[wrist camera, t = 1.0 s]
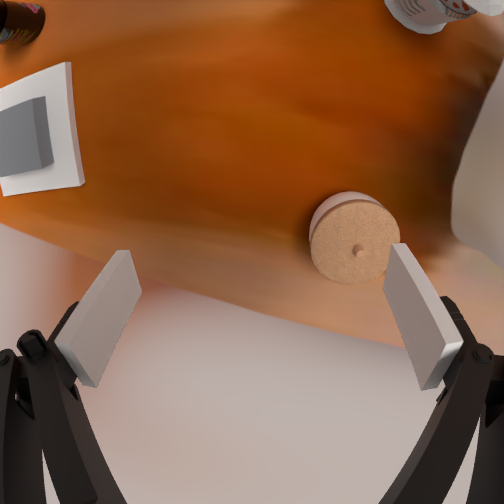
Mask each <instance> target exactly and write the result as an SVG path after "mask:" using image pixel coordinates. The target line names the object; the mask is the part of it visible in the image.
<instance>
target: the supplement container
mask: <svg viewBox="0 0 504 504" xmlns="http://www.w3.org/2000/svg"><path fill="white" fill-rule="evenodd" d="M43 23H44V11H43V8H42V7H41V6H40V5H37V4H31V3H24V2H16V1H7V0H0V45H14V44H26V43H28V42H30V41H32V40H33V39H34V38H35V37H36V36H37V35H38V33H39V32H40V30H41V28H42V26H43Z"/></svg>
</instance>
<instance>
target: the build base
mask: <svg viewBox="0 0 504 504" xmlns="http://www.w3.org/2000/svg"><path fill="white" fill-rule="evenodd" d="M84 183H85V178H84V172H83V167H82V161H81V155H80V148H79V142H78V135H77V127H76V119H75V109H74V99H73V87H72V71H71V62H63V63H60V64H57V65H55V66H52V67H49V68H47V69H44V70H42V71H39V72H37V73H34V74H32V75H29V76H27V77H25V78H22V79H20V80H18V81H16V82H14V83H11V84H9V85H7V86H5V87H3V88H1V89H0V184H1V188H2V192H3V196H9V195H15V194H22V193H29V192H36V191H43V190H50V189H58V188H66V187H75V186H81V185H82V184H84Z"/></svg>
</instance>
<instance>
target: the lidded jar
mask: <svg viewBox="0 0 504 504" xmlns="http://www.w3.org/2000/svg"><path fill="white" fill-rule="evenodd" d="M309 240H310V252H311V257H312V260H313V263H314V265H315V267H316V268H317V270H318V271H319V272H320V273H321V274H322V275H323V276H324V277H326V278H327V279H329V280H331V281H333V282H336V283H340V284H347V285H355V284H361V283H364V282H368V281H370V280H372V279H374V278H376V277H377V276H379V275H380V274H382V273H383V272H384V271H385V270H386V269H387V266H388V261H389V255H390V250H391V245H392V244H400V232H399V228H398V225H397V222H396V221H395V219H394V217H393V216H392V215H391V214H390V212H389V211H388V210H387V209H385V208H384V207H383V206H382V205H381V204H380V203H379V202H378V201H376V200H375V199H374V198H372V197H370V196H368V195H366V194H363V193H360V192H352V191H348V192H341V193H338V194H335V195H333V196H331V197H329V198H328V199H326V200H325V201H324V202H323V203H322V204H321V205H320V206H319V207H318V208H317V210H316V211H315V213H314V215H313V218H312V220H311V224H310V232H309Z"/></svg>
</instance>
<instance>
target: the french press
mask: <svg viewBox="0 0 504 504" xmlns="http://www.w3.org/2000/svg"><path fill="white" fill-rule="evenodd" d="M384 1H385V4H386V6H387V7H388V9H389V10H390V12H391V14H392V15H393V17H394V18H396V19H397V20H398V21H399V22H400V23H401V24H402V25H404V26H405V27H406V28H409V29H411V30H413V31H415V32H417V33H422V34H433V33H436V32H438V31H441V30H442V29H443V27H444V26H445V25H446V23H447V22H451V21H456V20H460V19H464V18H468V17H470V16H471V15H472V14H475V13H476V12H479V13H482V14H486V15H489V16H495V15H499V14H501V13H502V12H503V10H504V0H384ZM451 10H452V13H451V14H450V16H448V15H449V13H450V11H451ZM454 12H456V13H455V15H454V16H453V13H454ZM458 14H459V15H458ZM457 15H458V16H457ZM461 15H463V16H462V17H461V18H460V19H458V18H459V17H460V16H461ZM452 16H453V17H452ZM456 16H457V17H456ZM455 17H456V18H455Z"/></svg>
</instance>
